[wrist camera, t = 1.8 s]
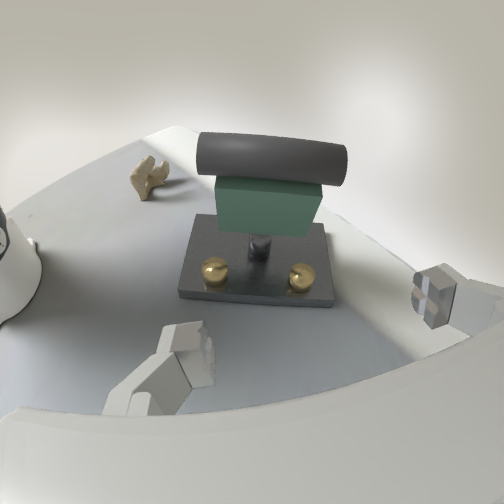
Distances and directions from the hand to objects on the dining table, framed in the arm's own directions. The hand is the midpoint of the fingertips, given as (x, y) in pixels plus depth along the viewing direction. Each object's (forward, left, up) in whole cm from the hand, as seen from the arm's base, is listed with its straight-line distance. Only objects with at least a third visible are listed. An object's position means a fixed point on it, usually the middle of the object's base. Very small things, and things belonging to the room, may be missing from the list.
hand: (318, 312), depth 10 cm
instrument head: (-1, +21, -16) cm, 27 cm away
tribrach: (-1, +21, -24) cm, 32 cm away
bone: (-22, +37, -24) cm, 50 cm away
